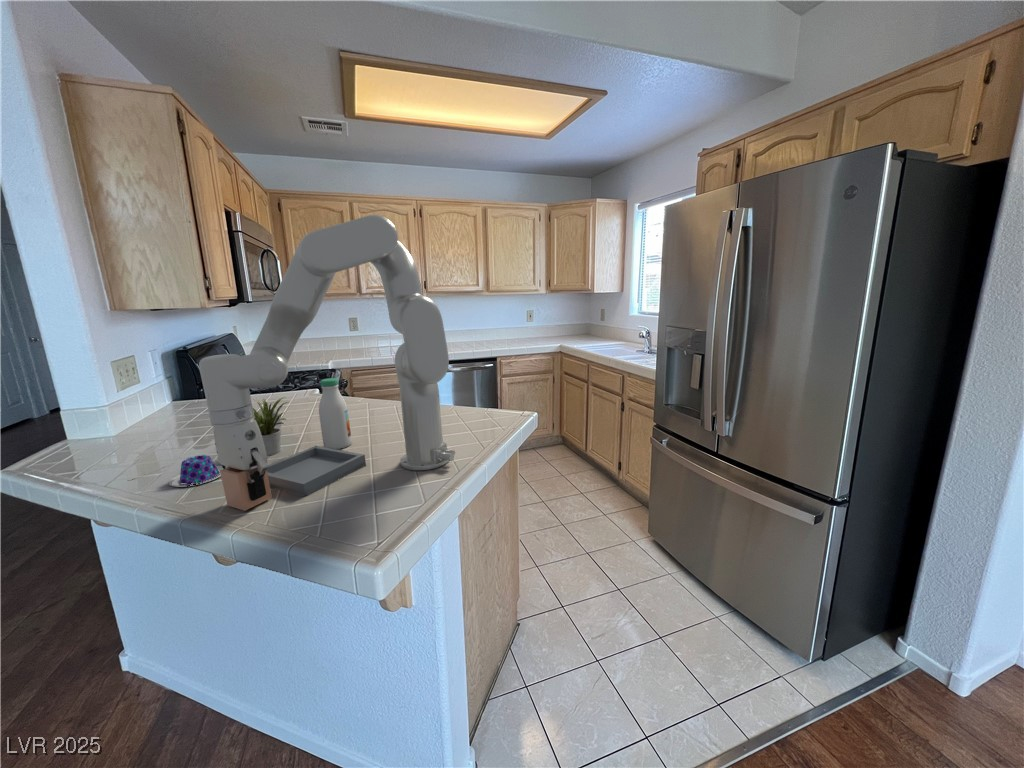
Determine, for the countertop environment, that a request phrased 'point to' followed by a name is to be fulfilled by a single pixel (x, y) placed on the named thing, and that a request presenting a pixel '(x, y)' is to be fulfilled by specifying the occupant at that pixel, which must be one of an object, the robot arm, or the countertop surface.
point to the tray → (313, 469)
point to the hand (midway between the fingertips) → (248, 494)
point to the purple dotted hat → (197, 470)
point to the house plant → (269, 427)
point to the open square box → (241, 488)
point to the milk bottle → (334, 416)
